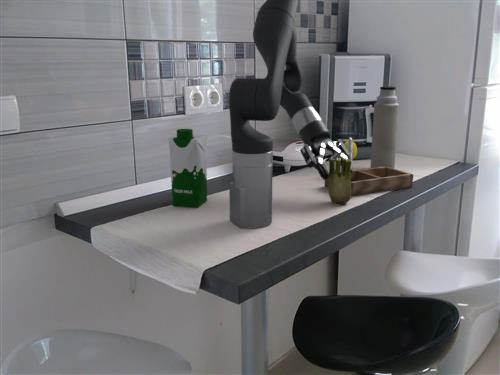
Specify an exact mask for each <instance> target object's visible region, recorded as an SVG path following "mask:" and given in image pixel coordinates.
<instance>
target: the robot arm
mask: <svg viewBox="0 0 500 375" xmlns="http://www.w3.org/2000/svg"><path fill="white" fill-rule="evenodd" d="M298 5H299V0H265V2H263V4H262V5H261V6H260V7H259V9H258V11H257V13H256V18H255V22H254V27H253V31H252V39H253V42H254V45H255V47H256V49H257V51H258V53H259V55H260V56H261V58H262V60H263V61H264V64H265V66H266V69H267V73H266V76H265V77H264V78H259V77H256V78H251V77H247V78H246V77H244V78H242V77H240V78H239V77H238V78H235V79H234V80H233V81H232V82H231V85H230V87H229V92H228V94H229V95H228V96H229V97H228V106H229V109H228V110H229V120H230V139H231V150H232V154H231V156H232V162H231V163H232V181H230V182H229V186H228V188H229V196H228V197H229V221H230V223H232V224H233V225H235V226H237V227H238V228H239V229H244V228H248V229H257V228H264V227H267V226H270V225H271V224H272V223H273V168H274V167H273V157H274V156H273V155H274V154H273V153H274V152H273V151H274V150H273V148H274V145H273V139H272V137H270V136H269V135H266V134H264V133H262V132H260V131H258V130H256V129H255V128H254V127H253V126H252V125H251V122H250V121H254V122H255V121H257V122H258V121H259V122H260V121H261V122H269V121H273V120H275V119H276V117H277V116H278V113H279V110H280V106H281V107H282V108H283V109H284V110H285V111H286V113H287V115H288V116H289V118H290V120H291V121H292V124H293V126H294V128H295V131H296V132H297V134H298V135H299V136H298V137H299V138H300V139H301V141H302V143H303V144H304V145H303V146H302V147H301V148H300V150H299V151H300V153H301V154H300V155H301V156H302V157H303V159H304V161H305V164H306V165H307V167H308V168H309V169H310V168H311V169H312V168H314V169H316V170H317V172H318V174H319V175H320V176H319V177H321V179H322V180H324V181H325V180H326V179H328V178H329V177H330V174H329V169H327V167H326V165H325V163H323V161H324V160H325V159H326V160H328V159H329V160H330V159H334V161H336V159H341V166H342V159H346V162H347V160H348V158H349V157H350V156H351V154H350V153H349V151H348V150H347V148H346V147H345V145H344V142H343V141H342V139H340V138H339V139H338V140H337V141H333V140H332V139H331V133H330V131H329V129H328V128H327V125H326V124H325V122H324V121H323V119H322V117H321V116H320V114H319V112H318V111H316V109H315V108H314V106H313V104H312V103H311V101H310V99H309V97H308V96H307V94H304V93H301V92H299V91H300V90H301V89H302V86H303V75H302V72H301V68H300V65H299V60H298V56H297V55H298V54H297V39H298V38H297V30H296V27H295V22H296V16H297V10H298ZM343 153H345V154H346V155H344V154H343ZM341 166H340V167H341ZM345 166H346V165H345ZM353 170H354V169H353V167H352V166H351V169H350V174H351V173H352V172H353Z"/></svg>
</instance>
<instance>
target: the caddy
mask: <svg viewBox="0 0 500 375" xmlns="http://www.w3.org/2000/svg"><path fill="white" fill-rule="evenodd" d="M340 174H341V171H340ZM328 179H329V178H328ZM328 179H326V180H324V188H326V187H327V188H326V189H328ZM413 180H414V174H413V173H411V172H410V173H409V172H407V171H403V170H399V169H397V168H394V169H393V168H390V167H386V166H384V167H376V168H370V167H369V168H362V169H353V172H352V173H351V174H350V181H351V198H352V196H353V197H357V196H358V197H359V196H365V195H370V194H371V195H372V194H377V193H378V194H379V193H384V192H390V191H398V190H402V189H403V190H404V189H410V188H413V182H414V181H413Z"/></svg>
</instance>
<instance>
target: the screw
mask: <svg viewBox="0 0 500 375" xmlns="http://www.w3.org/2000/svg"><path fill="white" fill-rule="evenodd" d="M348 141H349V142H348V148H347V150H348V151H349V153H350V154H351V156H350V157H349V158H348V160H350V161H351V167H352V166H353V159H352V157H353V156H352V152H353V151H352V150H353V149H352V148H353V147H352V146H353V145H352V142H353V138H352V137H349V138H348Z"/></svg>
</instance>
